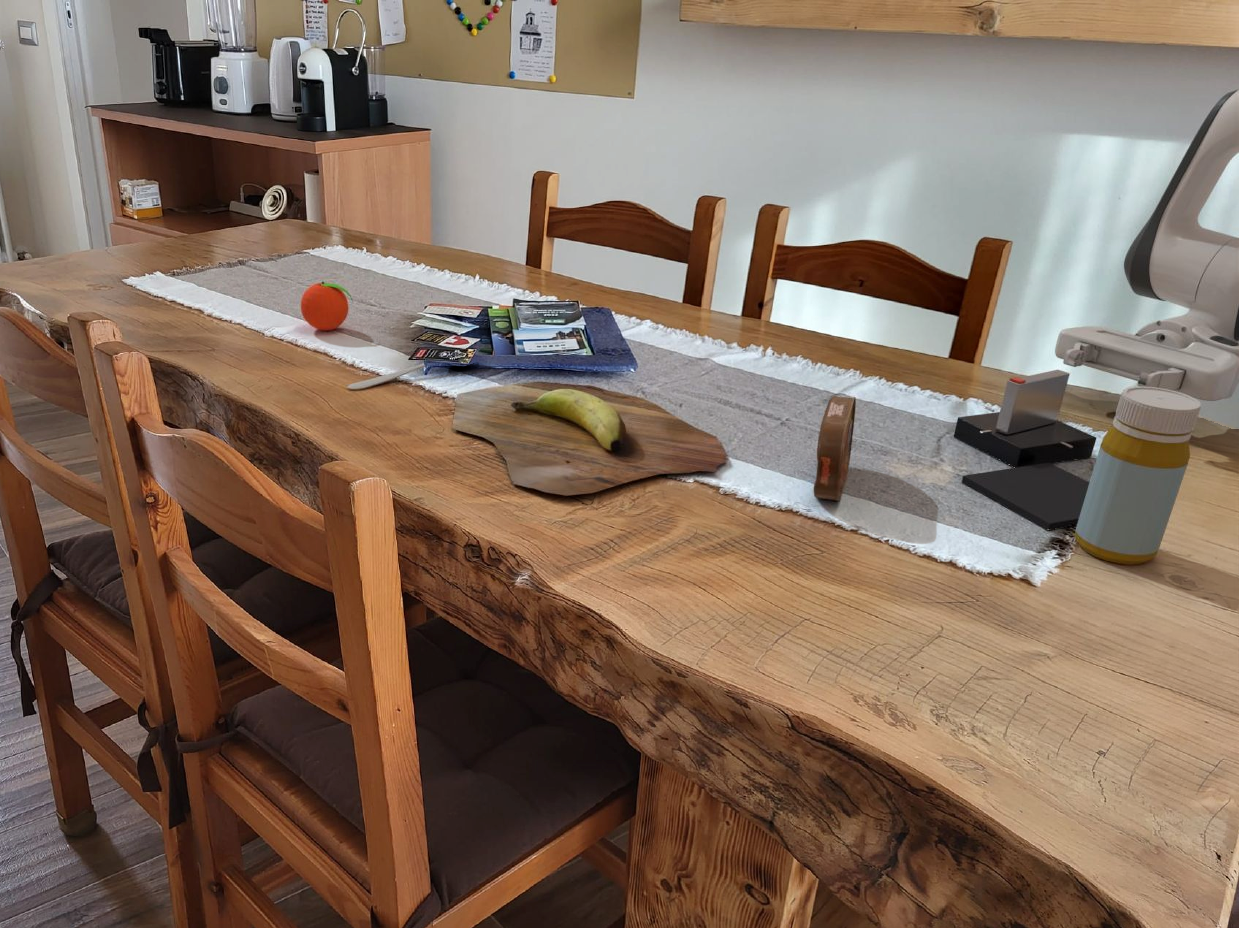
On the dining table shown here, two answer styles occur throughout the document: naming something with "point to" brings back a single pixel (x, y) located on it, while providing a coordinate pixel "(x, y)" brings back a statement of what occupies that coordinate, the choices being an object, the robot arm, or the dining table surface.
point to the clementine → (325, 306)
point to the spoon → (382, 378)
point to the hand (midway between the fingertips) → (1106, 369)
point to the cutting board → (582, 436)
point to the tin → (834, 448)
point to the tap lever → (1032, 401)
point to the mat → (1035, 492)
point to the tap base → (1025, 441)
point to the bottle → (1137, 475)
